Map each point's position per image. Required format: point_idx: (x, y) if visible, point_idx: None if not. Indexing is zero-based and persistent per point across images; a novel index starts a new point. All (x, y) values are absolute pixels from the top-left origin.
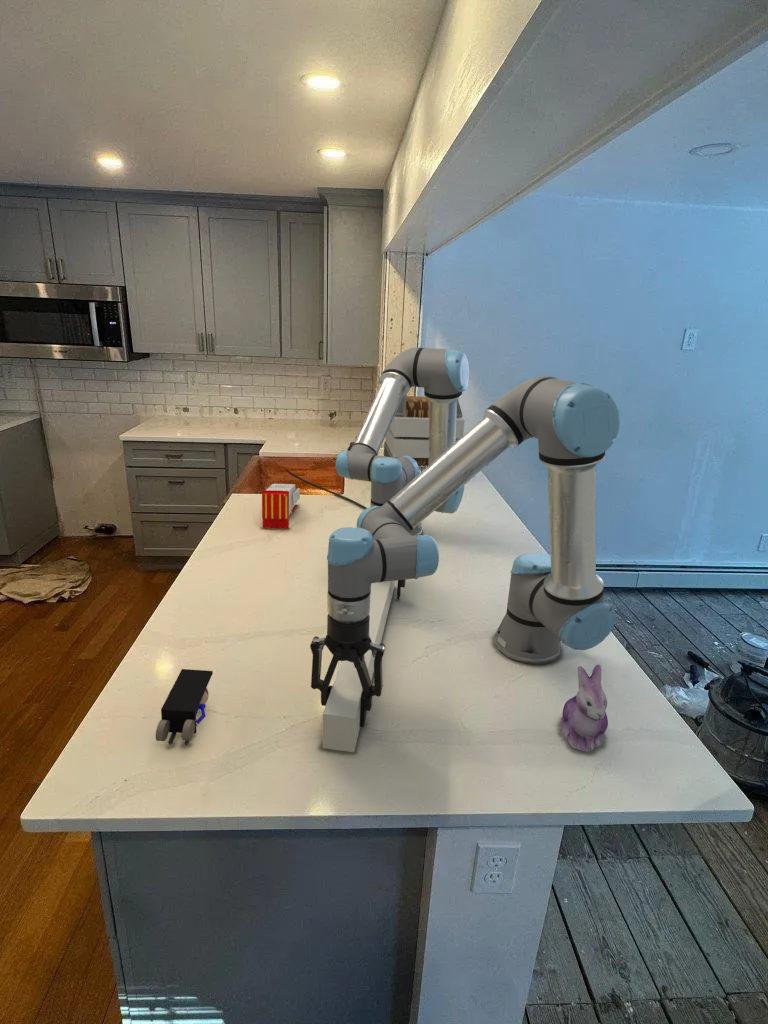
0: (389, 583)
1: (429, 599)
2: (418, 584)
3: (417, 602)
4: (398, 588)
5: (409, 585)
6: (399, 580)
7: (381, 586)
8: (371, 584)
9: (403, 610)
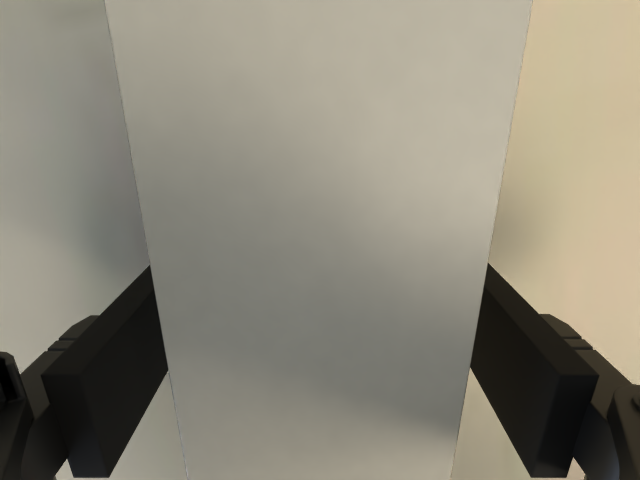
0: (146, 182)
1: (2, 327)
2: (126, 471)
3: (64, 276)
4: (137, 292)
5: (174, 454)
6: (79, 350)
7: (257, 34)
8: (448, 78)
9: (125, 143)
